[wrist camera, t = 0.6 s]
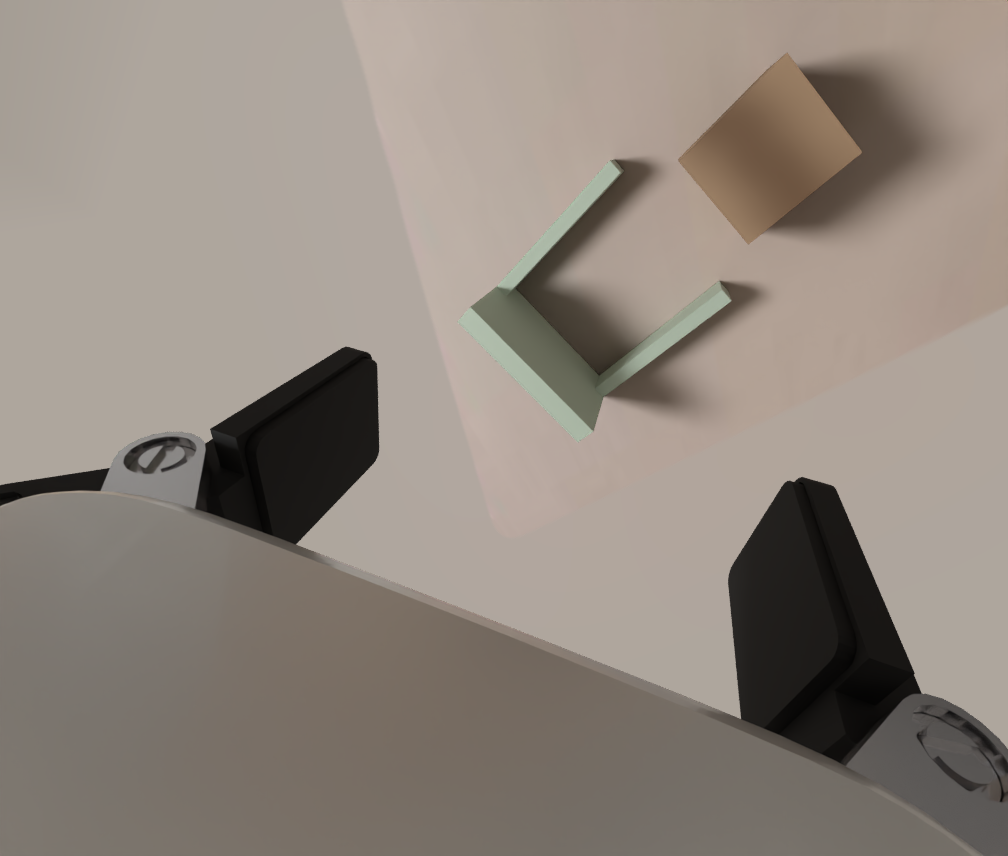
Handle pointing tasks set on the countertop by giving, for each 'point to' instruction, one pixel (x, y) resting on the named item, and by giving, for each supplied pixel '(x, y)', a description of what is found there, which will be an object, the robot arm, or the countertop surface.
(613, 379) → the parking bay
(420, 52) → the countertop surface
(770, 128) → the walnut block
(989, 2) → the countertop surface
